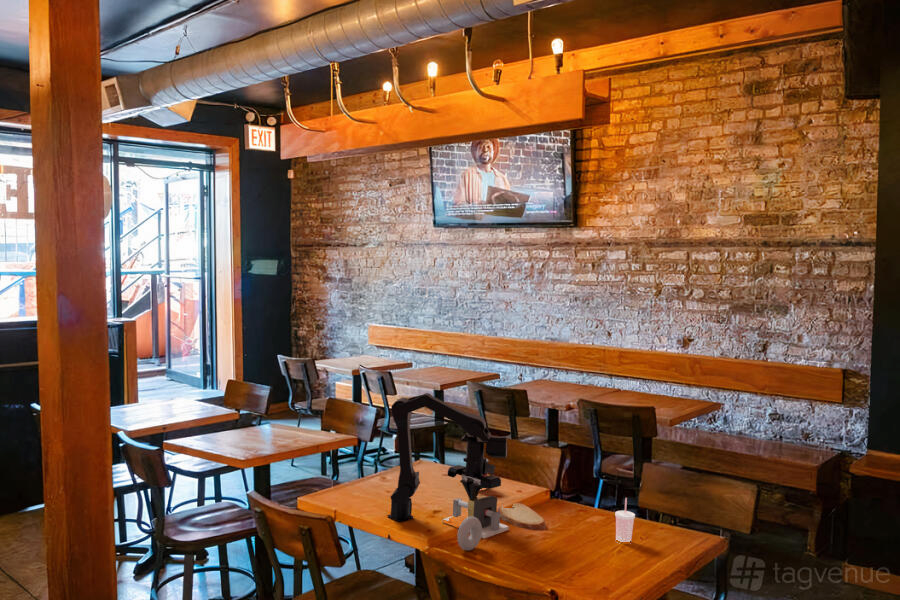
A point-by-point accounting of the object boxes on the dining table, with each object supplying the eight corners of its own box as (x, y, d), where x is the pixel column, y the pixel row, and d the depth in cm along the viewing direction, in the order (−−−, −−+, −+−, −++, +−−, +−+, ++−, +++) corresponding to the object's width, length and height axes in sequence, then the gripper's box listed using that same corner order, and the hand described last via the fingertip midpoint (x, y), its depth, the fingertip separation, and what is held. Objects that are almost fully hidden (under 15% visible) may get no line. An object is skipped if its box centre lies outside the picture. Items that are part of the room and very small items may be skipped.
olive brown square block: (474, 524, 242) (475, 502, 242) (467, 521, 244) (468, 499, 244) (488, 519, 247) (490, 497, 247) (481, 516, 249) (483, 495, 249)
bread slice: (545, 532, 245) (545, 520, 245) (490, 525, 250) (491, 514, 249) (551, 514, 263) (551, 504, 263) (499, 508, 267) (500, 497, 267)
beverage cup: (619, 545, 236) (622, 501, 235) (610, 538, 241) (612, 495, 241) (637, 544, 237) (639, 500, 236) (627, 537, 243) (630, 494, 242)
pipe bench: (484, 538, 236) (485, 517, 236) (442, 522, 248) (443, 502, 248) (508, 529, 245) (509, 509, 244) (466, 514, 257) (467, 495, 257)
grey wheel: (474, 543, 231) (476, 511, 231) (483, 547, 229) (485, 514, 229) (453, 552, 224) (455, 519, 223) (463, 556, 221) (464, 522, 221)
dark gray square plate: (478, 528, 240) (480, 502, 240) (472, 526, 242) (474, 500, 241) (495, 522, 246) (497, 497, 246) (489, 520, 248) (491, 495, 247)
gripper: (513, 457, 246) (510, 504, 247) (469, 445, 259) (467, 490, 260) (490, 463, 238) (488, 512, 239) (447, 450, 251) (445, 497, 252)
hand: (472, 502), depth 247 cm, fingers closed
